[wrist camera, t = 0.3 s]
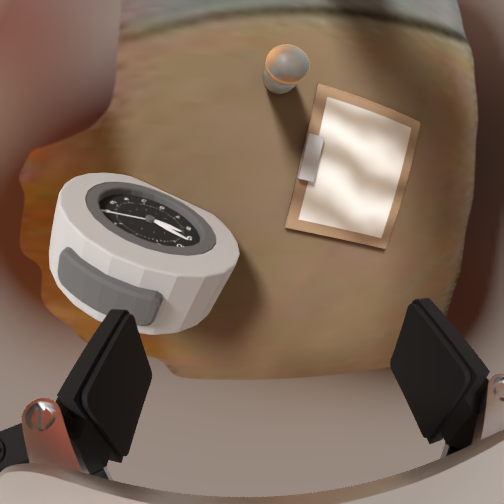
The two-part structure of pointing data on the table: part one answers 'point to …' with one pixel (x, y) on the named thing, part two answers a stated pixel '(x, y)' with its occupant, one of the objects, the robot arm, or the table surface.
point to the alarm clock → (138, 252)
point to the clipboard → (352, 169)
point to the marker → (285, 68)
